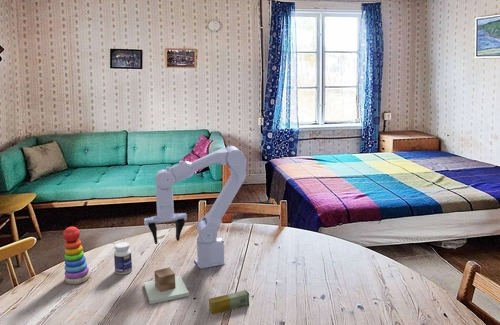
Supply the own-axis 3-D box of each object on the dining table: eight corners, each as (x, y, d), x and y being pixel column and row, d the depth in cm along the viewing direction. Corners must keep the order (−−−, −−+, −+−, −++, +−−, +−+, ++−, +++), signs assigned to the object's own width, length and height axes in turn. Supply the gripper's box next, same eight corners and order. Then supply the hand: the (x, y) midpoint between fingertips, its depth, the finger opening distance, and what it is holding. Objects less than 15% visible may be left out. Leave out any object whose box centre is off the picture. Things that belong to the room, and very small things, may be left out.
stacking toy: (79, 271, 144) (74, 221, 140) (95, 277, 140) (90, 225, 137) (59, 281, 138) (53, 228, 134) (75, 287, 134) (69, 233, 130)
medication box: (246, 301, 126) (246, 289, 125) (249, 306, 123) (249, 293, 122) (208, 310, 121) (208, 298, 120) (211, 315, 118) (211, 302, 118)
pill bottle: (127, 275, 141) (125, 248, 139) (112, 274, 142) (109, 247, 140) (135, 268, 147) (133, 242, 145) (120, 266, 148) (118, 240, 146)
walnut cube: (170, 281, 135) (169, 267, 134) (175, 288, 131) (174, 273, 130) (155, 285, 133) (154, 271, 131) (160, 292, 128) (159, 277, 127)
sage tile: (180, 278, 139) (180, 275, 139) (188, 295, 128) (188, 292, 128) (143, 285, 135) (143, 282, 135) (149, 304, 124) (149, 300, 124)
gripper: (183, 198, 149) (184, 234, 152) (142, 203, 143) (144, 240, 146) (187, 204, 143) (189, 241, 145) (145, 209, 137) (147, 247, 140)
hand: (166, 241), depth 145 cm, fingers open, 7 cm apart
